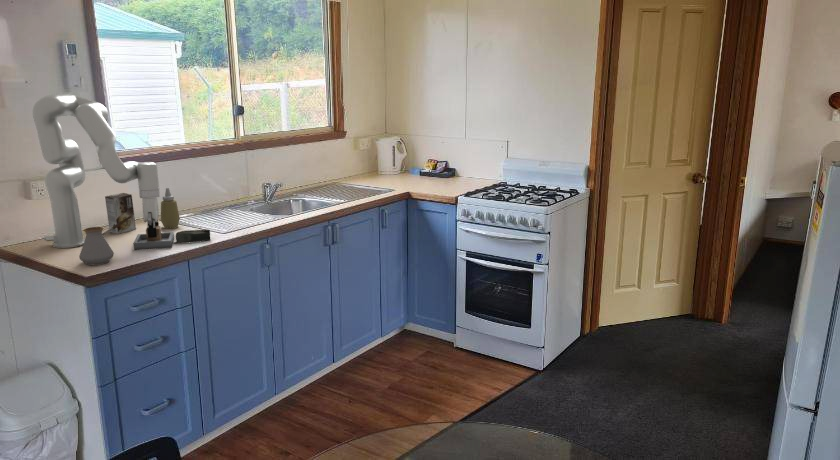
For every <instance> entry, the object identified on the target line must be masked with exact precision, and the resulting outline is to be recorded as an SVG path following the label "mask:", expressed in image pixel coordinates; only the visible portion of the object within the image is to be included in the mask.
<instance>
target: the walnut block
mask: <svg viewBox="0 0 840 460" xmlns="http://www.w3.org/2000/svg"><path fill="white" fill-rule="evenodd" d="M155 227H156V233H157V237H154V238H148V232H147V227H146V228H145V234H146V236H147V241H162V237H161V233H162V230H161V225H159V226H155Z"/></svg>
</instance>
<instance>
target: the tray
mask: <svg viewBox="0 0 840 460" xmlns="http://www.w3.org/2000/svg"><path fill="white" fill-rule="evenodd" d="M161 237H162V241H147V236H146V233H138V234H137V235H136V237H135V239H134V241H133V243H132V244H133V245H132V246H133V251H142V250H143V251H145V250H158V249H159V250H160V249H172V248H173V245H174V244H173V242H175V232H174V231H171V232H169V231H168V232H161Z"/></svg>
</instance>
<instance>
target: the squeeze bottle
mask: <svg viewBox="0 0 840 460" xmlns="http://www.w3.org/2000/svg"><path fill="white" fill-rule="evenodd" d="M160 221H161V223H162V226H163V228H164V229H175V228H176V229H177V227H179V223H180V221H181V219H180V213H179V208H178V203H177V201H176V200H175V196H174V195H172V194H171V191H170V188H169V187H166V188H165V194H164V195H162V201H161V202H160Z"/></svg>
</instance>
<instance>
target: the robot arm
mask: <svg viewBox="0 0 840 460" xmlns="http://www.w3.org/2000/svg"><path fill="white" fill-rule="evenodd" d="M67 116H70V117H75V119H76V120H77V122H78V124H79V125H80V127H81V128H82V129H83V131H84V132H85V133H86V134H87V137H89V138H90V140H91V142H92V143H93V144H94V145H95V148H96V153H97V156H98V160H99V162H100V164H101V166H102V167H103V169H104V170H105V172H106V173H107V174H108V176H109V177H110V178H111V179H112V180H113V181H114V182H116V183H118V184H126V183H130V182H131V181H135V180H137V185H138V193H139V194H138V195H139V198H140V199H142V201H141V202H142V203H141V204H142V216H143V217H142V219H143V223H147V224H146V225H147V226H146V228H147V232H148V238H154V237H157V233H156V227H155V226H160V224H159V222H160V221H159V216H160V215H159V202H158V198H160V197H161V193H160V192H161V191H160V184H159V183H160V181H159V173H158V166H157V163H155V162H152V161H144V162H139V161H133V160H130V161H125V162H123V161H122V160H121V158H120V157H119V155H118V153H117V151H116V141H117V135H116V133H115V131H114V130H113V128H111V126H110V124H108V122H107V119H108V117H109V111H108V109H107V107H106V106H104V104H102V103H100V102H97V101H94V100H92V99H88V98H85V97H82V96H78V95H76V94H72V93H59V94H57V93H56V94H48V95H46V96H43V97H41V98H40V99H38V100H37V101H36V102H35V103H34V105H33V107H32V119H33V122H34V125H35V129H36V131H37V133H36V134H37V138H38V140H39V145H40V150H41V154H42V157H43V159H44V160H45V162H46V163H48V164H50V165H58V167H55V168H52V169H51V170H49V171H48V172H47V174H46V175H45V179H44V183H45V187H46V190H47V193H48V195H49V201H50V207H51V212H52V213H51V214H52V219H53V227H54V234H53V235H44V236H43V239H44V241H46V242H51V243H52V247H53V248H56V249H57V248H58V249H69V248H76V247H81V246H83V244H84V241H85V238H86V237H84V236H83V228H82V227H83V226H82V221H81V213H80V207H79V200H78V197H77V194H76V192H75V189H74V188H77V187H79V186H81V185H83V183H84V182H85V179H86V170H85V166H84V163H83V156H82V153H81V150H80V147H79V145H78V144H77V142H75V141H74V140H73V139H71V138H68V137H64V133H63V129H62V125H61V124H60V122H59V121H58V118H59V117H60V118H61V117H67Z"/></svg>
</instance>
